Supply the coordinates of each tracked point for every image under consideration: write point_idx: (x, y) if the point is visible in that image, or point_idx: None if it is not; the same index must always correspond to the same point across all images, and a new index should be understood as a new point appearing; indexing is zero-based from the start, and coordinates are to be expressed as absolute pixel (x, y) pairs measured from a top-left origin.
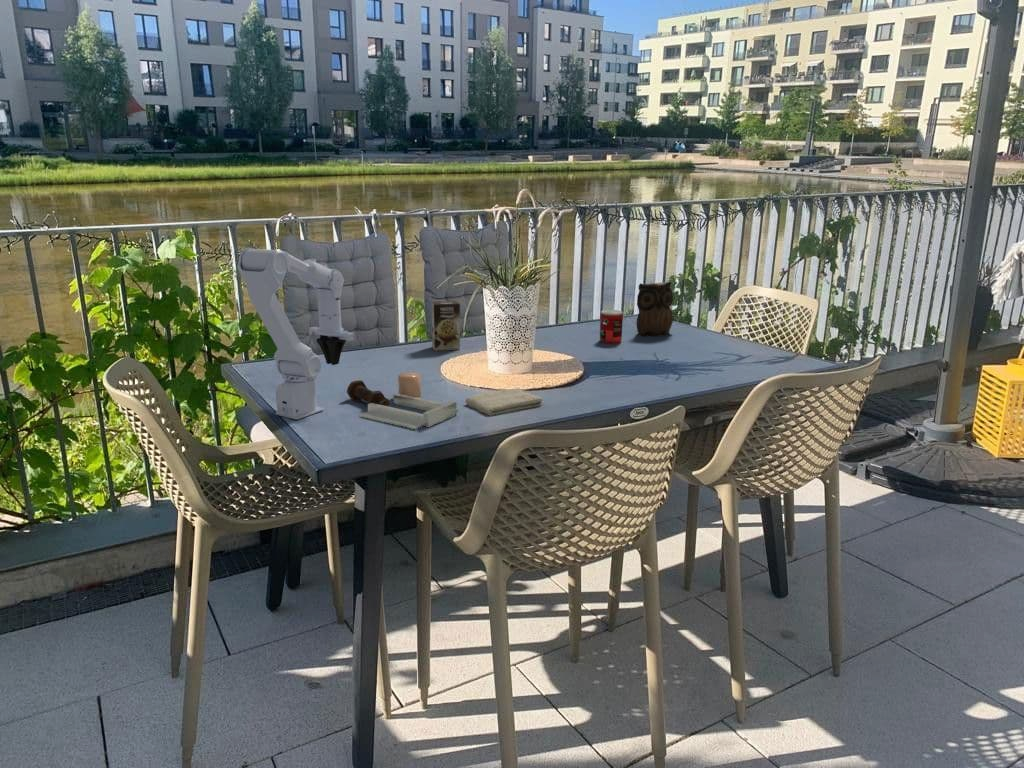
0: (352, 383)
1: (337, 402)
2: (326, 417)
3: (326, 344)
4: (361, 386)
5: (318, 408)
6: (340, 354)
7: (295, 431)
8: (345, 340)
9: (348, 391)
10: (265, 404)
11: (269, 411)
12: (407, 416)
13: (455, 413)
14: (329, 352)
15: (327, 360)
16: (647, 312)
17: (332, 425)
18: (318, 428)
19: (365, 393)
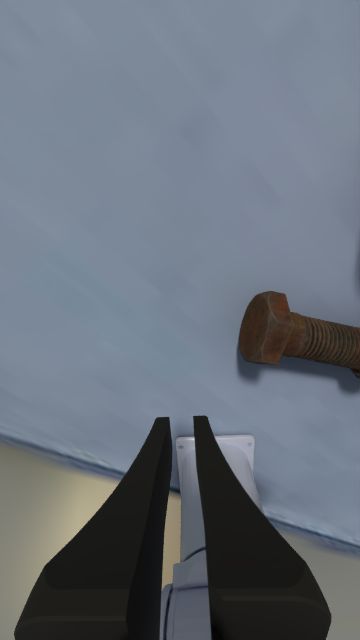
0: (272, 363)
1: (229, 375)
2: (292, 457)
3: (156, 597)
4: (301, 342)
5: (241, 445)
6: (222, 454)
7: (295, 525)
8: (314, 585)
9: (254, 362)
10: (99, 470)
11: None
12: None
13: None
14: (162, 498)
15: (171, 470)
16: None
17: (341, 479)
18: (325, 500)
19: (342, 364)
